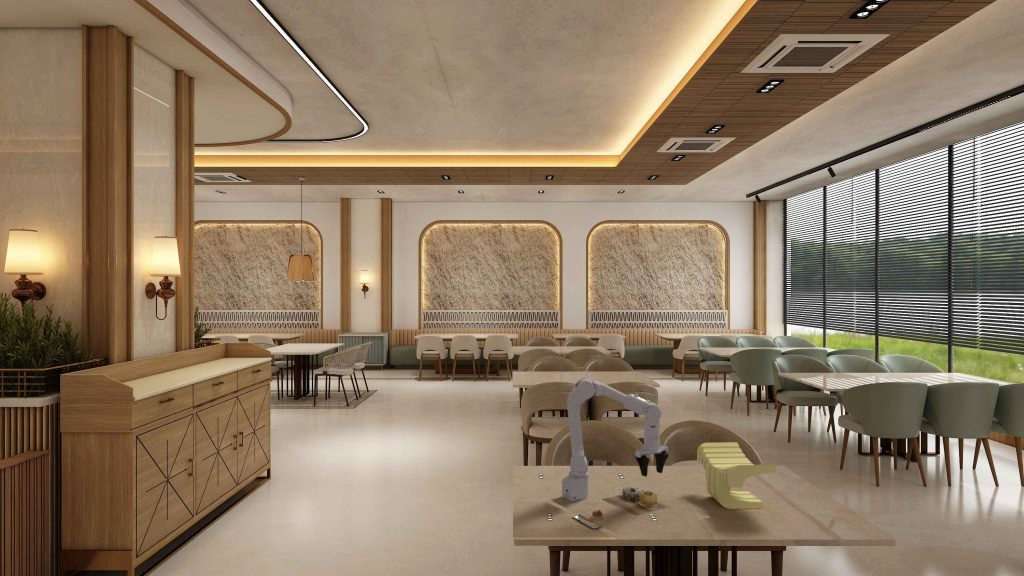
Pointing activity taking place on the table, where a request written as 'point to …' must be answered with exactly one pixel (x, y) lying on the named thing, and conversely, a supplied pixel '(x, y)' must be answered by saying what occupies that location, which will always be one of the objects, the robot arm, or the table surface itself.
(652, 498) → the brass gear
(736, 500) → the slatted curved stool
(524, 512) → the table surface
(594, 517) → the dessert
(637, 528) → the table surface
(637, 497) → the gear board
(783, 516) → the table surface
